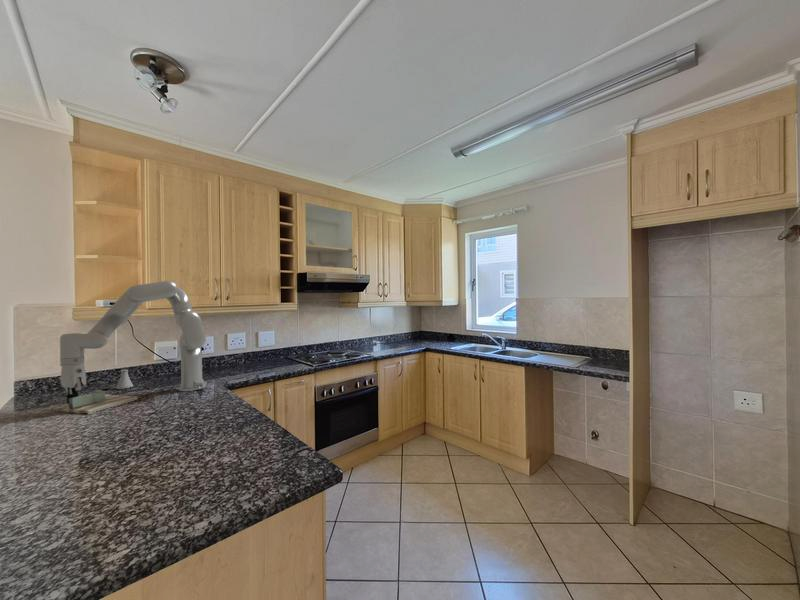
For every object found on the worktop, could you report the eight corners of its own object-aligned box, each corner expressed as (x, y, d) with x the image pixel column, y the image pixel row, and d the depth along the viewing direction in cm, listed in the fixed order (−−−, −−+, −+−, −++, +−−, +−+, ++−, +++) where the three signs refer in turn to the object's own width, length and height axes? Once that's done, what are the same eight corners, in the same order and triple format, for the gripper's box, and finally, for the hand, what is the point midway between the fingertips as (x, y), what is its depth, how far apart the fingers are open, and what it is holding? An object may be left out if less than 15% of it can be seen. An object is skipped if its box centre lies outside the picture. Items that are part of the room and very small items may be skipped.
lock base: (137, 399, 157) (137, 396, 157) (88, 414, 137) (88, 410, 137) (106, 397, 162) (106, 394, 162) (55, 411, 142) (55, 407, 142)
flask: (123, 390, 176) (122, 371, 176) (112, 389, 177) (112, 371, 177) (136, 386, 183) (136, 368, 183) (126, 385, 184) (126, 368, 184)
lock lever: (101, 399, 153) (101, 388, 153) (107, 400, 151) (107, 389, 151) (66, 407, 141) (65, 396, 141) (72, 408, 139) (72, 397, 139)
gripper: (92, 360, 144) (93, 402, 144) (74, 359, 150) (74, 398, 149) (70, 363, 137) (71, 407, 137) (51, 361, 143) (52, 403, 142)
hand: (72, 402), depth 143 cm, fingers closed
